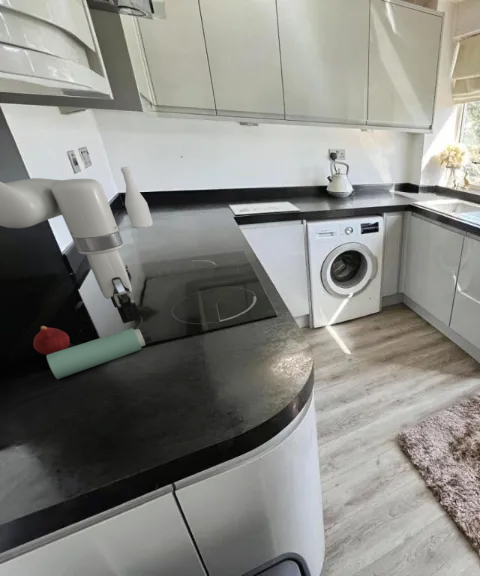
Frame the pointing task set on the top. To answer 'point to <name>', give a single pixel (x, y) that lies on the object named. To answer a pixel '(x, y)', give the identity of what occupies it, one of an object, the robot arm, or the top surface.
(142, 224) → the wine bottle
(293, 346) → the top surface
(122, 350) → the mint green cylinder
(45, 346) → the onion
